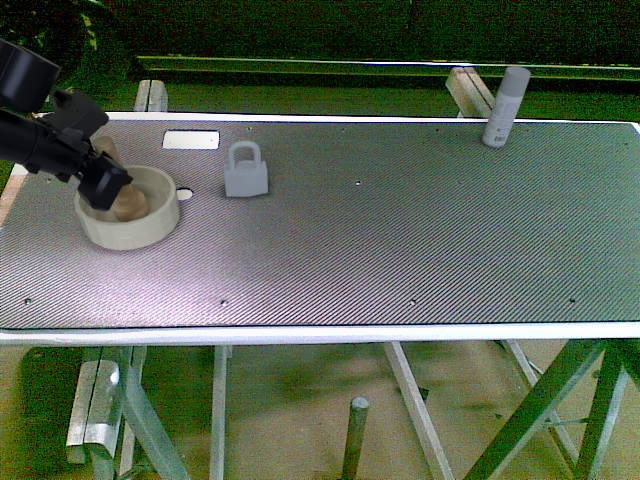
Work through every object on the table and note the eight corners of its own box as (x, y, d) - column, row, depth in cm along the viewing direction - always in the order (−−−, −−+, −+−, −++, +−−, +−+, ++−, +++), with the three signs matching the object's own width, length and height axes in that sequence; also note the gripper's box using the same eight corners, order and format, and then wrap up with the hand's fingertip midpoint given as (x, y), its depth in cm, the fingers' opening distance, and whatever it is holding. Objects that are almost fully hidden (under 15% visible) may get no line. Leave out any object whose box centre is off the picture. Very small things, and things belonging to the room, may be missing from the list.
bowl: (93, 264, 69) (82, 237, 65) (79, 204, 77) (68, 177, 73) (191, 236, 74) (186, 209, 70) (167, 183, 82) (162, 157, 79)
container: (507, 139, 99) (534, 70, 88) (501, 150, 96) (528, 79, 85) (485, 132, 100) (509, 63, 90) (478, 142, 97) (502, 72, 87)
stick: (118, 227, 73) (85, 156, 64) (113, 207, 77) (80, 136, 67) (152, 216, 75) (124, 145, 65) (145, 197, 78) (117, 126, 68)
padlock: (265, 181, 84) (263, 132, 77) (268, 195, 82) (267, 146, 75) (225, 184, 83) (219, 135, 76) (226, 199, 80) (221, 149, 73)
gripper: (91, 113, 53) (189, 157, 66) (20, 57, 61) (119, 105, 75) (45, 199, 54) (150, 224, 68) (-18, 132, 63) (87, 166, 76)
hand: (126, 176), depth 72 cm, fingers closed on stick, 2 cm apart
